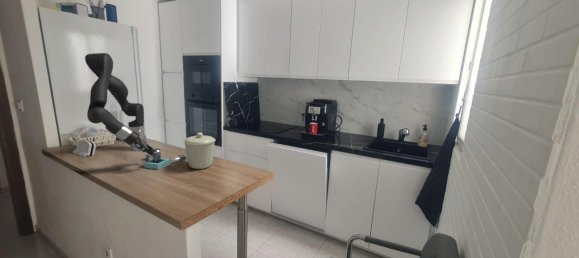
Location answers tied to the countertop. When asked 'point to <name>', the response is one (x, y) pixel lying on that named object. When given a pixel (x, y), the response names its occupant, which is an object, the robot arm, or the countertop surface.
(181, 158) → the shaft
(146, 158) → the shaft
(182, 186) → the countertop surface
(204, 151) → the canister
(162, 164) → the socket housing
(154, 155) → the coupler
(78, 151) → the hinge
